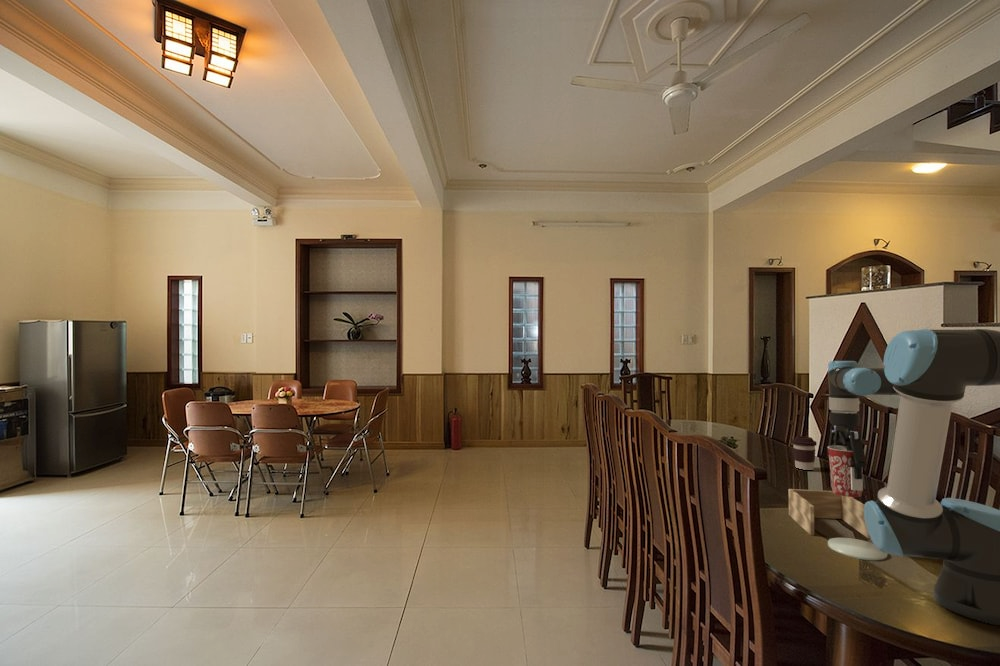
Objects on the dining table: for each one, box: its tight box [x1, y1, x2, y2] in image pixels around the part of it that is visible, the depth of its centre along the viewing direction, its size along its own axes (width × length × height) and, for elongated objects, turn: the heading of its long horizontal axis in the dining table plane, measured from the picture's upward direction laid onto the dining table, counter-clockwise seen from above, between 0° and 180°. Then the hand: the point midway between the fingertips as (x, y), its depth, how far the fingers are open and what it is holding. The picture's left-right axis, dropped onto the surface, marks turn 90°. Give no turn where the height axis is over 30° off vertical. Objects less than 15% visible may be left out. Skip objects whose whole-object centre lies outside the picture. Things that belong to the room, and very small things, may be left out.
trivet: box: [827, 537, 888, 562], centre depth 144 cm, size 14×14×1 cm
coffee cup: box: [791, 435, 817, 471], centre depth 234 cm, size 10×10×15 cm
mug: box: [827, 445, 864, 498], centre depth 149 cm, size 13×9×14 cm
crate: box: [788, 488, 871, 540], centre depth 162 cm, size 18×17×9 cm
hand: (846, 484), depth 149 cm, fingers closed on mug, 12 cm apart
